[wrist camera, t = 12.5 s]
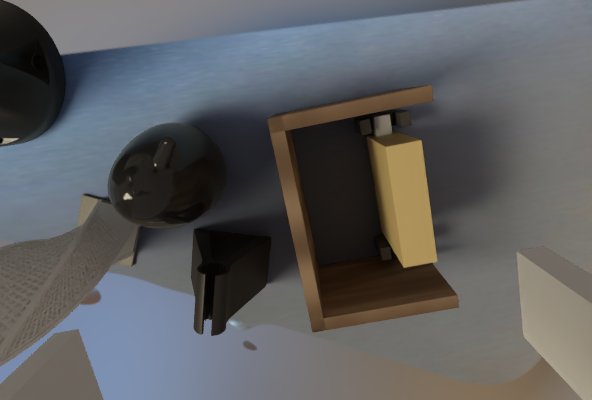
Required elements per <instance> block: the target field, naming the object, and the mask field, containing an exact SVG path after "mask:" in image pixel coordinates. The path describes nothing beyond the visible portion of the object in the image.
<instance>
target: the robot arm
mask: <svg viewBox="0 0 592 400" xmlns="http://www.w3.org/2000/svg"><path fill="white" fill-rule="evenodd" d="M64 94H65V73H64V67H63V63H62V59H61V56H60V54H59V52H58V49H57V47H56V45H55V44H54V41H53V40H52V38H51V37H50V35H49V34H48V32H47V31H46V30H45V28H43V26H42V25H41V24H40V23H39V22H38V21H37V20H36V19H35V18H34V17H33V16H31V15H30V14H29V13H27V12H26V11H24V10H23V9H21V8H19V7H18V6H16V5H14V4H11V3H9V2H6V1H3V0H0V147H1V146H8V145H15V144H20V143H24V142H27V141H30V140H32V139H34V138H36V137H38V136H39V135H41V134H42V133H43V132H45V131H46V130H47V129H48V128H49V127H50V126H51V124H52V123H53V122H54V120H55V119H56V117H57V115H58V114H59V111H60V109H61V106H62V104H63V100H64ZM516 253H517V265H518V277H519V289H520V301H521V313H522V324H523V336H524V337H525V339H526V340H527V341H528V342H529V343H530V344H531V345H532V346H533V347H534V348H535V349H536V350H537V351H538V352H539V353H540V355H541V356H542V357H543V358H544V359H545V360H546V361H547V362H548V363H549V364H550V365H551V366H552V367H553V368H554V370H555V371H557V373H558V374H559V375H560V376H561V377H562V378H563V379H564V380H565V381H566V382H567V383H568V384H569V385H570V387H571V388H572V389H573V390H574V391H575V392H576V393H577V394H578V395H579V396H580V397H581V398H582V399H583V400H592V275H591V274H589V273H588V272H586V271H584V270H583V269H581V268H579V267H578V266H576V265H574V264H573V263H571V262H569V261H568V260H566V259H564V258H563V257H561V256H559V255H558V254H556V253H555V252H553V251H551V250H550V249H548V248H546V247H545V246H541V247H535V248H530V249H524V250H519V251H516ZM0 400H103V397H102V394H101V391H100V389H99V386H98V383H97V380H96V377H95V375H94V372H93V369H92V367H91V363H90V361H89V358H88V355H87V352H86V350H85V347H84V344H83V341H82V338H81V336H80V333H79V330H78V329H77V330H71V331H65V332H60V333H55V334H53V335H52V336H51V337H50V338H49V339H48V340H47V341H46V342H45V343H44V344H43V345H42V346H40V347H39V348H38V349H37V350H36V351H35V352H34V353H33V354H32V355H31V356H30V357H29V358H28V359H27V360H26V361H24V363H22V364H21V365H20V366H19V367H18V368H17V369H16V370H15V371H14V372H13V373H12V374H11V375H10V376H8V377H7V378H6V379H5V380H4V381H3V382H2V383H1V384H0Z"/></svg>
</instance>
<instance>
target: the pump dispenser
mask: <svg viewBox="0 0 592 400" xmlns="http://www.w3.org/2000/svg"><path fill="white" fill-rule="evenodd" d="M226 180H227V170H226V164H225V160H224V157H223V155H222V153H221V151H220V149H219V147H218V146H217V144H216V143H215V142H214V141H213V140H212V139H211V138H210V137H209V136H208V135H207V134H206V133H204V132H203V131H201V130H200V129H198V128H196V127H193V126H191V125H187V124H183V123H165V124H160V125H156V126H154V127H151V128H149V129H147V130H145V131H144V132H142V133H141V134H139V135H138V136H136V137H135V138H134V139H133V140H131V141H130V142H129V143H128V144H127V145H126V147H125V148H124V149H123V150H122V151H121V153H120V154H119V156H118V157H117V159H116V160H115V162H114V164H113V166H112V168H111V171H110V174H109V178H108V194H109V198H110V201H111V203H112V205H113V207H114V208H115V210H116V211H117V212H118V213H119V214H120V215H121V216H122V217H123V218H124V219H126V220H127V221H129V222H131V223H133V224H135V225H138V226H141V227H146V228H152V229H166V228H173V227H178V226H182V225H185V224H188V223H190V222H192V221H194V220H196V219H198V218H200V217H202V216H204V215H205V214H206V213H208V212H209V211H210V210H211V209H212V208H213V207H214V206H215V205H216V204H217V203H218V201H219V200H220V198H221V196H222V194H223V192H224V189H225V186H226Z"/></svg>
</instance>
